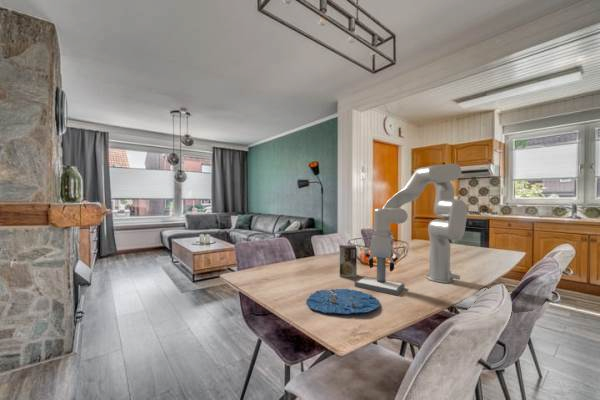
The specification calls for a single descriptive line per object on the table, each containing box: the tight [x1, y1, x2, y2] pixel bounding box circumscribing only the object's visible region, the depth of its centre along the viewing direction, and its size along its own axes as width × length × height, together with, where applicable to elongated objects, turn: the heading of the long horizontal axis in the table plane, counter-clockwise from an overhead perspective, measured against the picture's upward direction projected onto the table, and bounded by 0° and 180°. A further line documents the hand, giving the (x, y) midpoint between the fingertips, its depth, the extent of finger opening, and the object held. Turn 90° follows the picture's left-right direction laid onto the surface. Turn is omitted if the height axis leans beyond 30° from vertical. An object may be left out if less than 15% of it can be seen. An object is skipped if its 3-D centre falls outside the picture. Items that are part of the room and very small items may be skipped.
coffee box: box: [338, 244, 358, 278], centre depth 141 cm, size 9×6×16 cm
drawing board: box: [354, 275, 405, 296], centre depth 123 cm, size 20×12×2 cm, turn 55°
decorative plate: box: [305, 288, 381, 315], centre depth 105 cm, size 30×30×5 cm
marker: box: [376, 257, 387, 283], centre depth 125 cm, size 4×4×14 cm
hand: (381, 269), depth 125 cm, fingers open, 9 cm apart
